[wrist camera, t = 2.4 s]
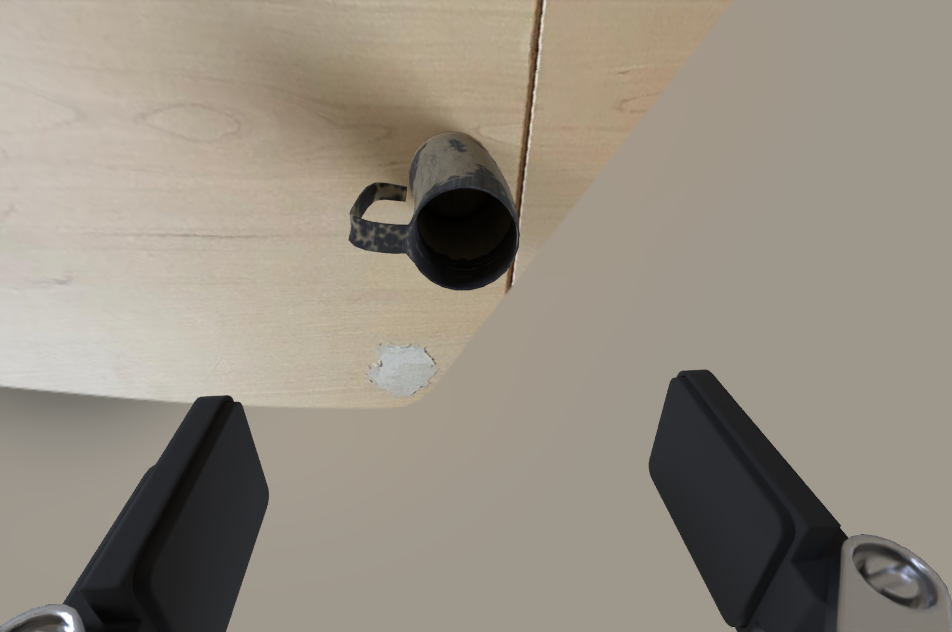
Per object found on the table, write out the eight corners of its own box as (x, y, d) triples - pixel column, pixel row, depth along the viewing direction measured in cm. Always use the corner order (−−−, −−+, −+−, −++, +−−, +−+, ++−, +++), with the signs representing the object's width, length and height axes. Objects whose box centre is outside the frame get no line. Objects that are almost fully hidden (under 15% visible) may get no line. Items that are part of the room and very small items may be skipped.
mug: (505, 140, 30) (547, 196, 20) (489, 224, 33) (519, 312, 22) (376, 118, 29) (348, 166, 18) (370, 208, 31) (343, 293, 21)
